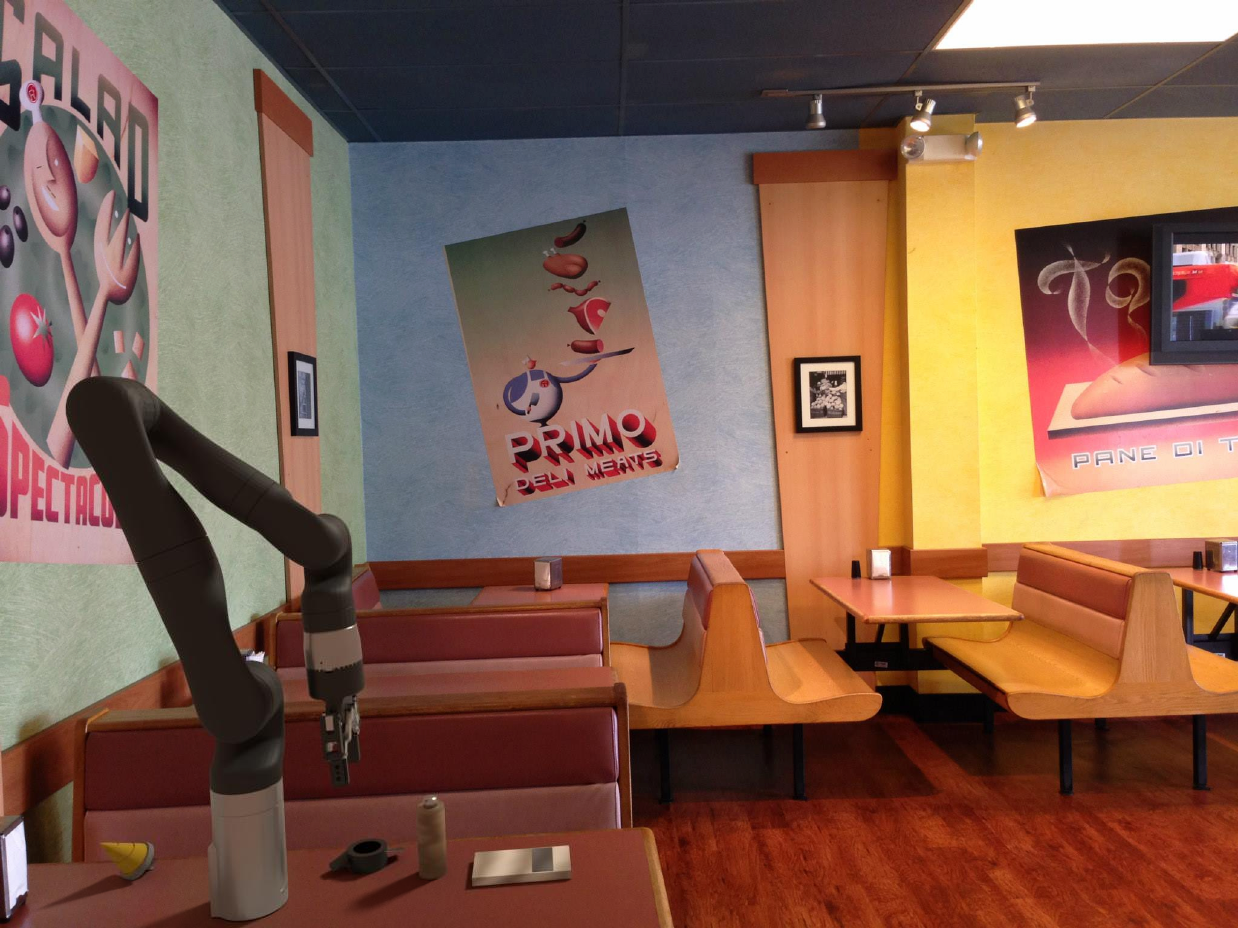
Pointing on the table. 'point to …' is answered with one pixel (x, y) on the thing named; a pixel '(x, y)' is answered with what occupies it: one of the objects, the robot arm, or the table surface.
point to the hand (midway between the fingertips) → (346, 773)
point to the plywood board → (521, 865)
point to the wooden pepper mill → (431, 838)
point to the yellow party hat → (131, 857)
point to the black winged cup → (364, 856)
